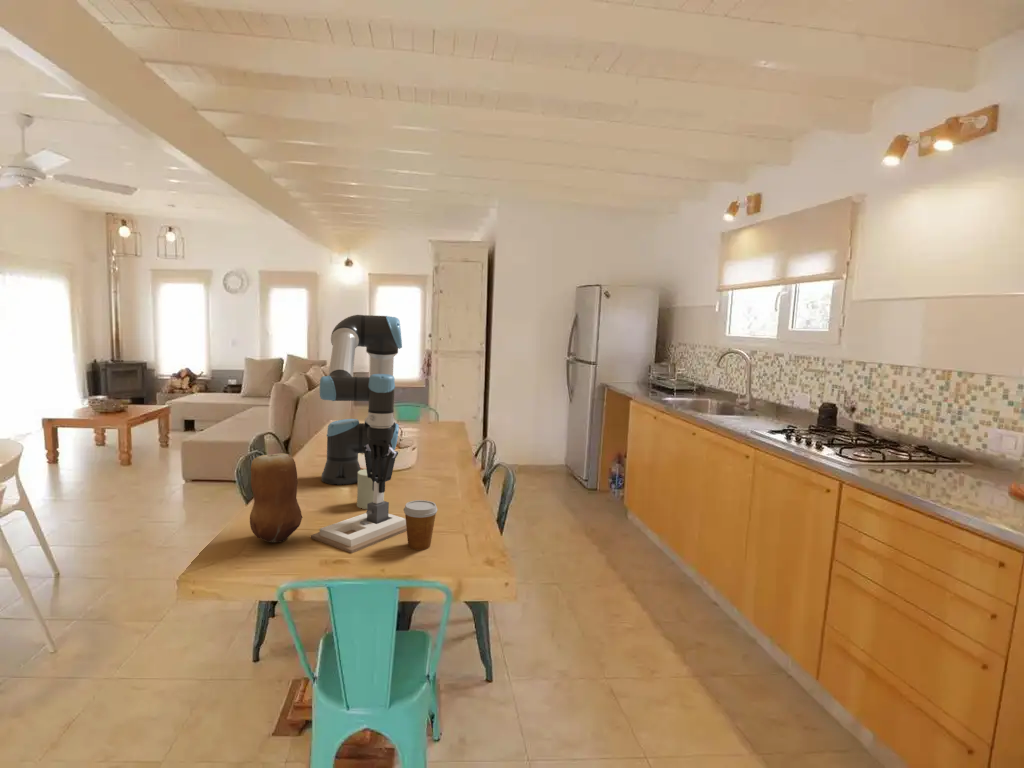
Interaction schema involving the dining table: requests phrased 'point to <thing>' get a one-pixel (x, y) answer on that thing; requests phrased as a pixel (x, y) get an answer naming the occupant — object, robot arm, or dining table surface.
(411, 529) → the disposable coffee cup
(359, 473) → the can
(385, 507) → the plug
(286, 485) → the butternut squash
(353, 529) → the socket board
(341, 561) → the dining table surface
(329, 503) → the dining table surface
